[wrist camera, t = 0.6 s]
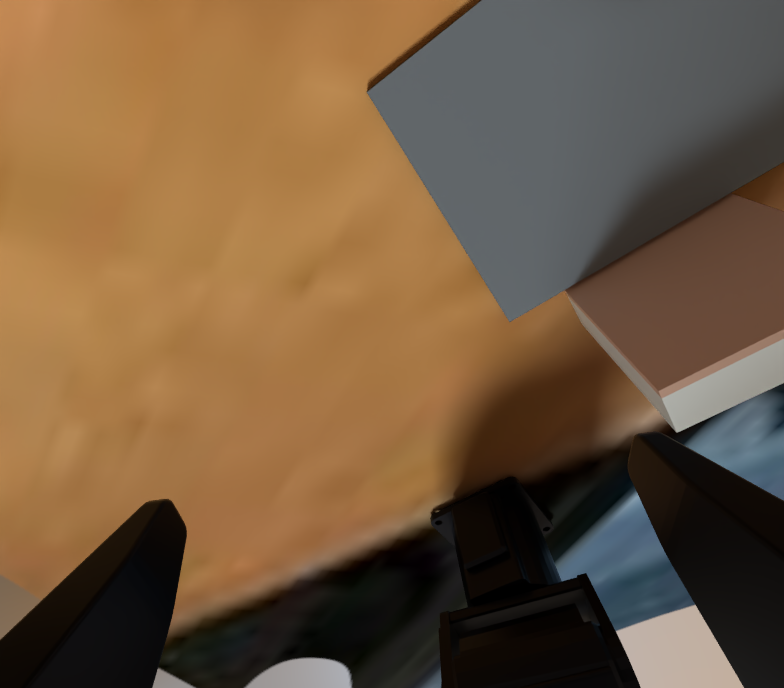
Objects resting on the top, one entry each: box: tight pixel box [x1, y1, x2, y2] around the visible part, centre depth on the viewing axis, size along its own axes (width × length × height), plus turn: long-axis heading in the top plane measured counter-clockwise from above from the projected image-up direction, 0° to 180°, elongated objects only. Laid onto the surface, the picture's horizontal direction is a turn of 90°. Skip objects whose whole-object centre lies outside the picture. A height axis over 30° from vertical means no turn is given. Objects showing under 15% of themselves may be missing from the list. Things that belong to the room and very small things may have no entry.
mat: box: [367, 0, 784, 322], centre depth 18 cm, size 12×14×1 cm
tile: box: [565, 193, 784, 432], centre depth 18 cm, size 2×8×8 cm, turn 125°
